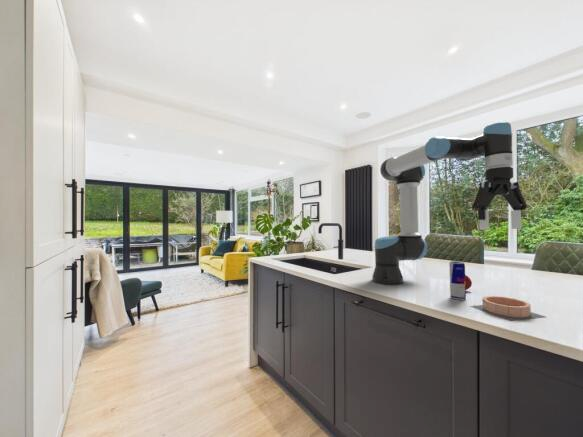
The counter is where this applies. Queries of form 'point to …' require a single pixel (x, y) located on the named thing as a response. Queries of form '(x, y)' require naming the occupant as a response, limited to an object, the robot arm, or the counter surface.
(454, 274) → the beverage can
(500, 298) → the bowl
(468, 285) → the onion
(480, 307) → the mat
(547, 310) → the counter surface
